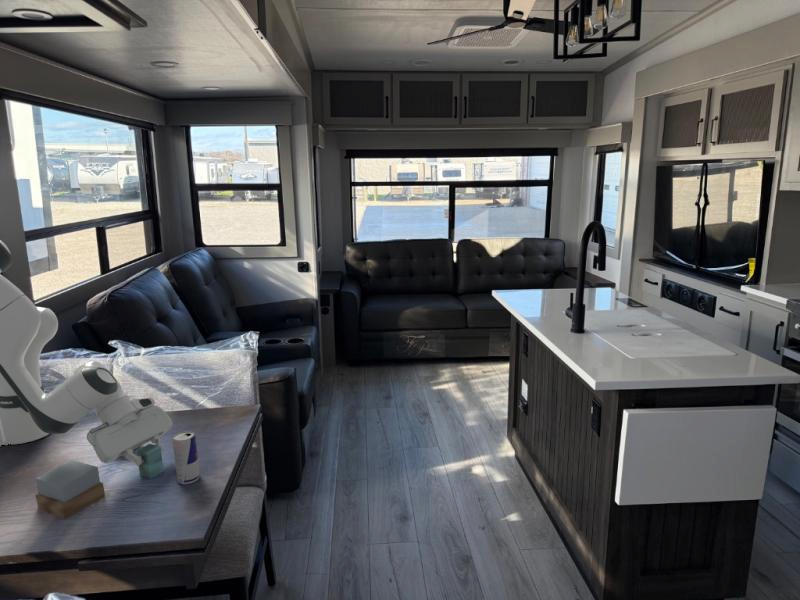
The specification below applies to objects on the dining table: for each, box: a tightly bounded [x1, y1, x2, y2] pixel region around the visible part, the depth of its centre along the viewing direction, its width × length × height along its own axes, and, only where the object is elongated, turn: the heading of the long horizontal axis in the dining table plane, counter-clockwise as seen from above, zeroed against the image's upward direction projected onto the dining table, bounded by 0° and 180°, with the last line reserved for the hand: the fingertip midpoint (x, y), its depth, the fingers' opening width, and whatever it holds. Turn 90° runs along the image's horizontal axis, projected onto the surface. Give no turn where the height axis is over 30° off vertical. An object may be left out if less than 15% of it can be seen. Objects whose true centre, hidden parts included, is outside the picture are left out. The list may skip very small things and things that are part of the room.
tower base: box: [35, 481, 106, 520], centre depth 133 cm, size 10×10×4 cm
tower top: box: [35, 459, 101, 502], centre depth 132 cm, size 9×9×4 cm
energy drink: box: [172, 430, 201, 485], centre depth 141 cm, size 5×5×12 cm
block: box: [136, 443, 164, 480], centre depth 145 cm, size 4×4×7 cm
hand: (151, 458), depth 144 cm, fingers open, 5 cm apart
